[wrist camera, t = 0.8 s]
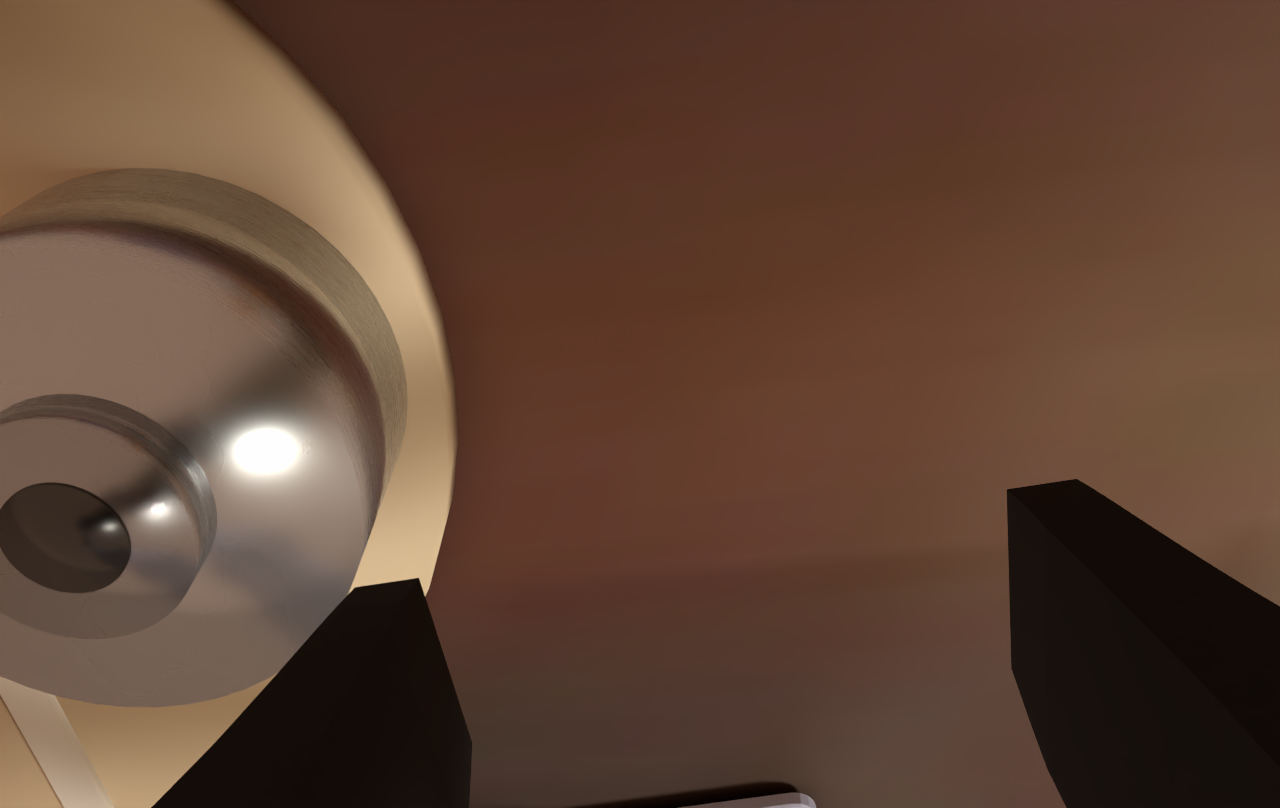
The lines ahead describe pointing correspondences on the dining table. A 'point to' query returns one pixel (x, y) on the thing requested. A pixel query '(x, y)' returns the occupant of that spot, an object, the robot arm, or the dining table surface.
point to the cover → (181, 436)
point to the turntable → (282, 173)
